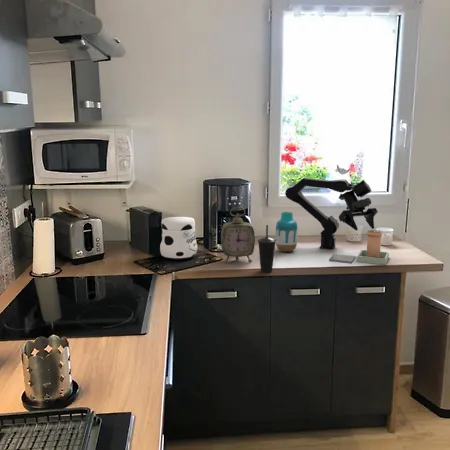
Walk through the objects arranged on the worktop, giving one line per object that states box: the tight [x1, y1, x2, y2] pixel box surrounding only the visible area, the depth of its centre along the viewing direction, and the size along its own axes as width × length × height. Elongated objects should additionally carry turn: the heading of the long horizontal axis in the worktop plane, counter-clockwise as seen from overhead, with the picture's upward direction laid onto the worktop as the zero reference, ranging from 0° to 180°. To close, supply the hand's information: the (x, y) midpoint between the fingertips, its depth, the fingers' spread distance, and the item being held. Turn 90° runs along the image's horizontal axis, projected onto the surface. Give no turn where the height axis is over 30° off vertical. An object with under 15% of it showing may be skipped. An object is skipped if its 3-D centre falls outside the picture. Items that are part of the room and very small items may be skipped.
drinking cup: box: [257, 224, 276, 274], centre depth 213 cm, size 8×8×20 cm
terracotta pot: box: [365, 229, 384, 258], centre depth 231 cm, size 7×7×13 cm
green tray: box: [356, 249, 390, 265], centre depth 232 cm, size 13×13×2 cm
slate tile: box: [328, 253, 356, 264], centre depth 233 cm, size 10×10×1 cm
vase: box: [274, 211, 299, 253], centre depth 246 cm, size 11×11×19 cm
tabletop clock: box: [220, 206, 256, 264], centre depth 228 cm, size 14×9×25 cm, turn 95°
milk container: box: [159, 216, 198, 261], centre depth 236 cm, size 17×17×18 cm
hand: (365, 229), depth 236 cm, fingers open, 9 cm apart
